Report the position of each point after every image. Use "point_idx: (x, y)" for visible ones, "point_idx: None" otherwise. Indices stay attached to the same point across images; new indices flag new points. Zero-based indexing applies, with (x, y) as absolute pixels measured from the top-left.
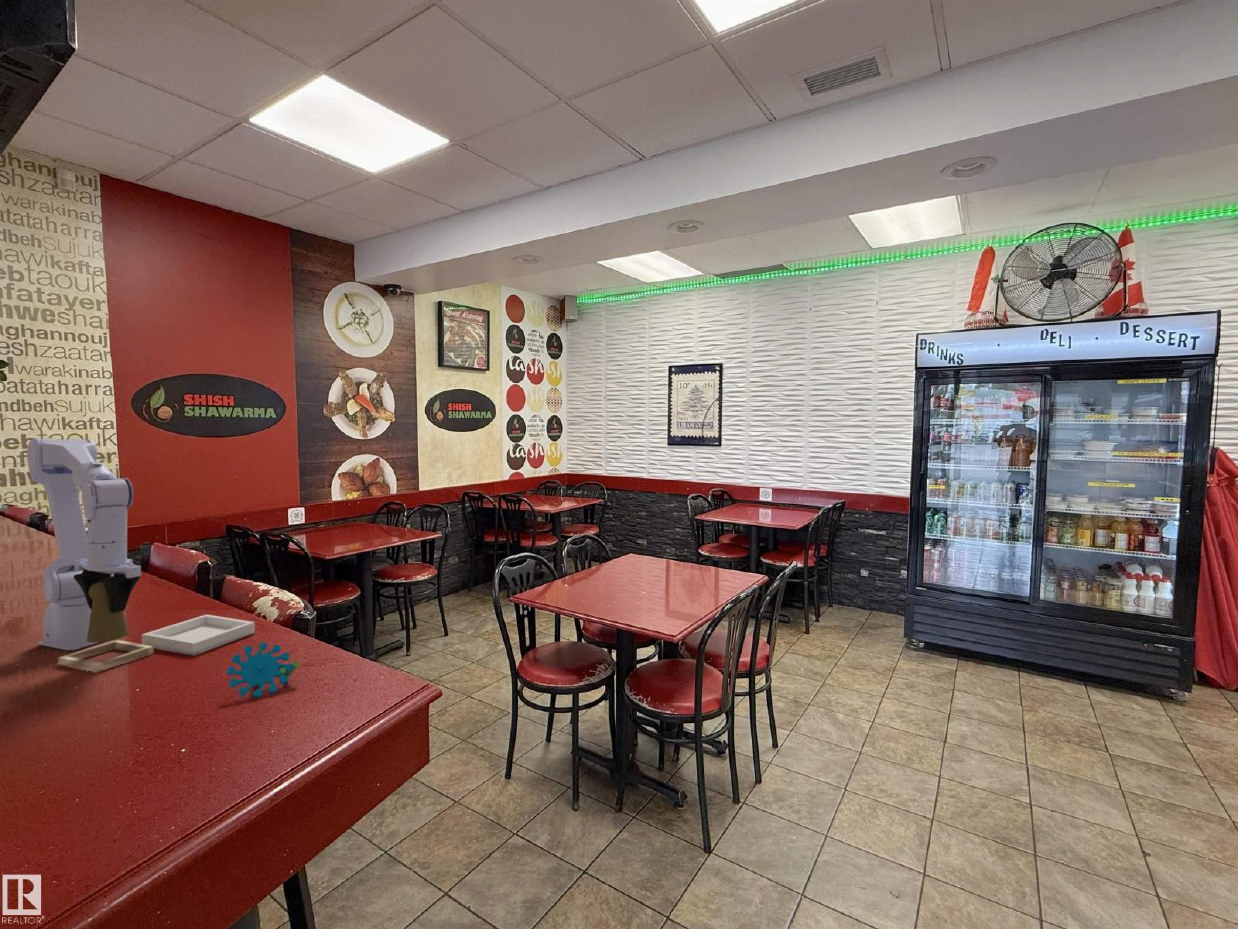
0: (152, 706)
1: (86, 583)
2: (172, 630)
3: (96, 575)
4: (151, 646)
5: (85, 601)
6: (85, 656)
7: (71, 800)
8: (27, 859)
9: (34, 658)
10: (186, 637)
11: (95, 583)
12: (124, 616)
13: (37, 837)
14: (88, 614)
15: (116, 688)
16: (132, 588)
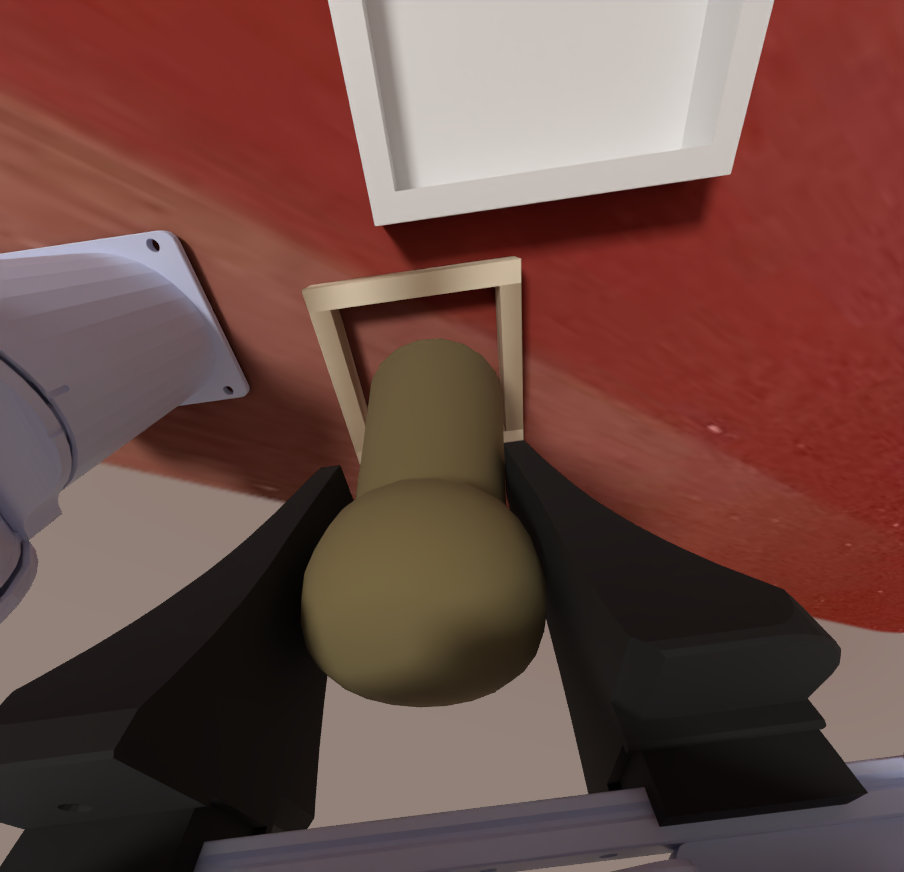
0: (815, 454)
1: (313, 717)
2: (367, 27)
3: (260, 769)
4: (514, 264)
5: (41, 436)
6: (362, 399)
7: (873, 594)
8: (895, 627)
9: (243, 457)
10: (481, 23)
11: (373, 699)
12: (479, 401)
13: (881, 619)
14: (118, 385)
15: (655, 447)
16: (632, 525)
